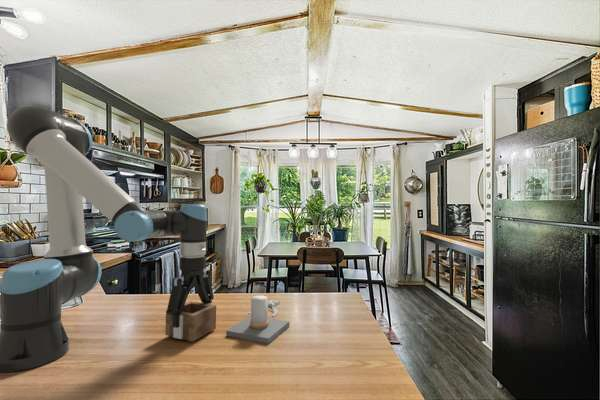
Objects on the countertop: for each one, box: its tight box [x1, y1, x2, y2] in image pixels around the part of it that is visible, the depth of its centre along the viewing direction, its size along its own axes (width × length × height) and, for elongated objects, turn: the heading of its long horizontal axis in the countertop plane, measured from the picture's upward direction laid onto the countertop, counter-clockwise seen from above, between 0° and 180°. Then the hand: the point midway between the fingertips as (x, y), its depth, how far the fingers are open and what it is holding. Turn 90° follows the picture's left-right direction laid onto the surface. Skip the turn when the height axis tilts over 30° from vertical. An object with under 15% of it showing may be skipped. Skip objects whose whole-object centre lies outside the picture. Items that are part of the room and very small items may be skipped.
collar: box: [164, 300, 217, 342], centre depth 94 cm, size 10×10×7 cm
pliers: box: [247, 299, 280, 318], centre depth 117 cm, size 10×2×15 cm
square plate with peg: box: [225, 295, 290, 345], centre depth 97 cm, size 14×14×10 cm
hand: (191, 330), depth 94 cm, fingers closed on collar, 10 cm apart
